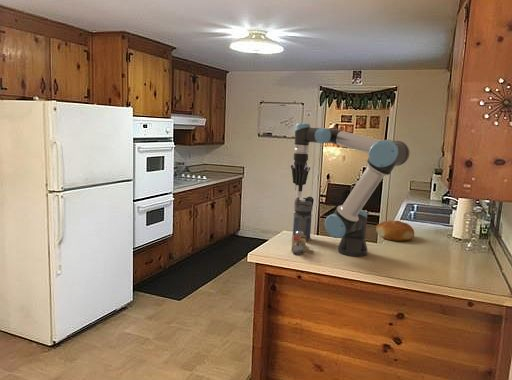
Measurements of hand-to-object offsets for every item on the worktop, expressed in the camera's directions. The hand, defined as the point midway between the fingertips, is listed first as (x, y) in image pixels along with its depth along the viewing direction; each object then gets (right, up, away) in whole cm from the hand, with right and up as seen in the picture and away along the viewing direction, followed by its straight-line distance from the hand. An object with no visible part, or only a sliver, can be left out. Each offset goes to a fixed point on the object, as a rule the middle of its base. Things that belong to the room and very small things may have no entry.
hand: (298, 197), depth 223 cm
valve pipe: (0, -27, -4) cm, 28 cm away
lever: (-1, -21, -10) cm, 23 cm away
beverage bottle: (+4, -25, +18) cm, 31 cm away
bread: (+62, -25, +32) cm, 74 cm away
